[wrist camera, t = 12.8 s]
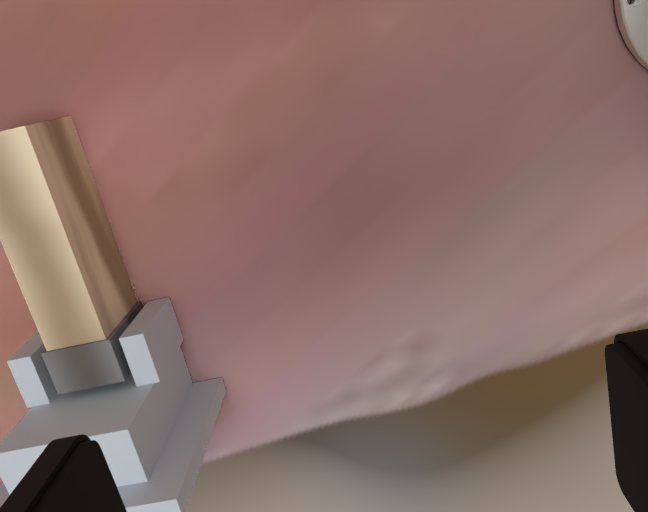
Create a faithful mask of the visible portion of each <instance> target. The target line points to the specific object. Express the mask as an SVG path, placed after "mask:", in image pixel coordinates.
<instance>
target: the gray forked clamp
mask: <svg viewBox="0 0 648 512" xmlns="http://www.w3.org/2000/svg"><path fill="white" fill-rule="evenodd" d="M183 340H184V339H183V336H182V333H181V330H180V327H179V324H178V321H177V318H176V315H175V312H174V309H173V306H172V303H171V300H170V297H166V298H161V299H157V300H152V301H148V302H147V303H146V305H145V306H144V307H143V308H142V310H141V311H140V312H139V314H138V315H137V316H136V317H135V319H134V320H133V321H132V322H131V324H130V325H129V326H128V327H127V329H126V330H125V331H124V332H123V334H122V335H121V336H120V338H119V341H120V343H121V346H122V349H123V351H124V354H125V357H126V359H127V362H128V365H129V368H130V370H131V373H130V375H129V376H128V378H127V379H126V380H125V381H124V382H119V383H113V384H108V385H103V386H98V387H93V388H88V389H83V390H78V391H73V392H68V393H62V394H58V393H57V391H56V388H55V386H54V384H53V381H52V379H51V376H50V374H49V372H48V369H47V367H46V365H45V362H44V360H43V357H42V355H41V353H42V352H43V351H44V350H45V349H46V348H45V346H44V343H43V341H42V339H41V336H40V334H39V332H38V333H37V334H36V335H35V336H34V337H33V338H32V339H31V340H30V341H28V342H27V343H26V344H25V345H24V346H23V347H22V348H21V349H20V350H18V351H17V352H16V353H15V354H14V355H13V356H12V357H11V358H10V359H9V360H7V363H8V365H9V367H10V370H11V372H12V374H13V376H14V379H15V381H16V383H17V386H18V388H19V390H20V392H21V395H22V397H23V399H24V401H25V404H26V406H27V408H29V407H32V408H31V409H30V411H29V412H28V413H27V414H26V415H25V416H24V417H23V418H22V420H21V421H20V422H19V423H18V424H17V425H16V426H15V428H14V429H13V430H12V431H11V432H10V433H9V434H8V435H7V437H6V438H5V439H4V440H3V441H2V442H1V443H0V476H1V478H2V483H1V484H0V507H1V506H2V505H3V503H4V502H5V501H6V499H7V498H8V497H9V495H10V494H11V493H12V491H13V490H14V489H15V488H16V486H17V485H18V484H19V482H20V481H21V480H22V478H23V477H24V476H25V474H26V473H27V472H28V470H29V469H30V468H31V466H32V465H33V464H34V462H35V461H36V460H37V458H38V457H39V456H40V455H41V453H42V452H43V451H44V449H45V448H46V447H47V445H48V444H49V443H50V442H51V441H52V440H55V439H60V438H65V437H70V436H76V435H81V434H84V435H86V436H88V437H89V438H90V440H95V441H97V442H98V443H99V445H100V447H101V449H102V452H103V454H104V457H105V459H106V462H107V464H108V466H109V469H110V471H111V474H112V476H113V479H114V481H115V484H116V486H117V489H118V491H119V493H120V496H121V498H122V501H123V503H124V506H125V508H126V511H127V512H185V509H186V506H187V503H188V500H189V497H190V494H191V491H192V489H193V486H194V483H195V480H196V477H197V474H198V471H199V469H200V466H201V463H202V460H203V457H204V454H205V451H206V448H207V445H208V442H209V440H210V437H211V434H212V431H213V428H214V425H215V422H216V419H217V416H218V414H219V411H220V408H221V405H222V402H223V399H224V396H225V393H226V389H225V385H224V382H223V379H222V377H221V378H216V379H211V380H206V381H201V382H195V383H193V382H192V379H191V376H190V373H189V370H188V367H187V364H186V361H185V359H184V356H183V353H182V350H181V347H180V346H181V344H182V342H183Z"/></svg>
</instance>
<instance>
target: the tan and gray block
mask: <svg viewBox="0 0 648 512" xmlns="http://www.w3.org/2000/svg"><path fill="white" fill-rule="evenodd" d="M0 240H1V243H2V245H3V248H4V250H5V252H6V255H7V257H8V260H9V262H10V264H11V267H12V269H13V272H14V274H15V276H16V279H17V281H18V284H19V286H20V288H21V291H22V293H23V295H24V298H25V300H26V303H27V305H28V307H29V310H30V312H31V315H32V317H33V319H34V322H35V324H36V327H37V329H38V331H39V334H40V336H41V339H42V341H43V343H44V346H45V348H46V349H45V350H44V351H43V352H42V353H41V355H42V357H43V360H44V362H45V365H46V367H47V369H48V372H49V374H50V376H51V379H52V381H53V384H54V386H55V388H56V391H57V393H58V394H62V393H68V392H73V391H78V390H83V389H88V388H93V387H98V386H103V385H108V384H113V383H119V382H124V381H125V380H126V379H127V378H128V376H129V375H130V373H131V370H130V368H129V365H128V362H127V359H126V357H125V354H124V351H123V349H122V346H121V343H120V341H119V338H120V336H121V335H122V334H123V332H124V331H125V330H126V329H127V327H128V326H129V325H130V324H131V322H132V321H133V320H134V319H135V317H136V316H137V315H138V314H139V312H140V311H141V310H142V308H143V305H142V302H141V301H139V302H137V300H136V297H135V294H134V292H133V289H132V286H131V283H130V280H129V277H128V275H127V272H126V269H125V266H124V263H123V261H122V258H121V255H120V252H119V249H118V247H117V244H116V241H115V238H114V235H113V232H112V230H111V227H110V224H109V221H108V218H107V216H106V213H105V210H104V207H103V204H102V202H101V199H100V196H99V193H98V190H97V187H96V185H95V182H94V179H93V176H92V173H91V171H90V168H89V165H88V162H87V159H86V156H85V154H84V151H83V148H82V145H81V142H80V140H79V137H78V134H77V131H76V128H75V126H74V123H73V120H72V117H71V116H67V117H63V118H58V119H53V120H49V121H44V122H40V123H35V124H30V125H26V126H22V127H17V128H13V129H9V130H5V131H1V132H0Z"/></svg>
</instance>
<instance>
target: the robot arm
mask: <svg viewBox="0 0 648 512" xmlns="http://www.w3.org/2000/svg"><path fill="white" fill-rule="evenodd" d="M614 2H615V12H616V17H617V22H618V26H619V30H620V32H621V34H622V36H623V39H624V41H625V43H626V45H627V47H628V48H629V50H630V51H631V53H632V54H633V55H634V57H635V58H636V59H637V61H638V62H639V63H640V64H642V65H643V66H644V67H645V68H646V69H647V70H648V0H632V1H631V3H630V4H628V2H627V0H614ZM605 360H606V371H607V381H608V391H609V402H610V413H611V424H612V435H613V446H614V456H615V468H616V475H617V479H618V482H619V485H620V488H621V490H622V492H623V494H624V496H625V497H626V499H627V501H628V502H629V504H630V505H631V507H632V508H633V510H634V511H635V512H648V329H644V330H638V331H633V332H627V333H622V334H617V335H616V336H615V339H614V344H610V345H606V347H605ZM0 512H127V511H126V508H125V506H124V503H123V501H122V498H121V496H120V493H119V491H118V489H117V486H116V484H115V481H114V479H113V476H112V474H111V471H110V469H109V466H108V464H107V462H106V459H105V457H104V454H103V452H102V449H101V447H100V445H99V443H98V442H97V441H95V440H90V438H89V437H88V436H86V435H84V434H81V435H76V436H70V437H65V438H60V439H55V440H52V441H51V442H50V443H49V444H48V445H47V447H46V448H45V449H44V451H43V452H42V453H41V455H40V456H39V457H38V458H37V460H36V461H35V462H34V464H33V465H32V466H31V468H30V469H29V470H28V472H27V473H26V474H25V476H24V477H23V478H22V480H21V481H20V482H19V484H18V485H17V486H16V488H15V489H14V490H13V491H12V493H11V494H10V495H9V497H8V498H7V499H6V501H5V502H4V503H3V505H2V506H1V507H0Z"/></svg>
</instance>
